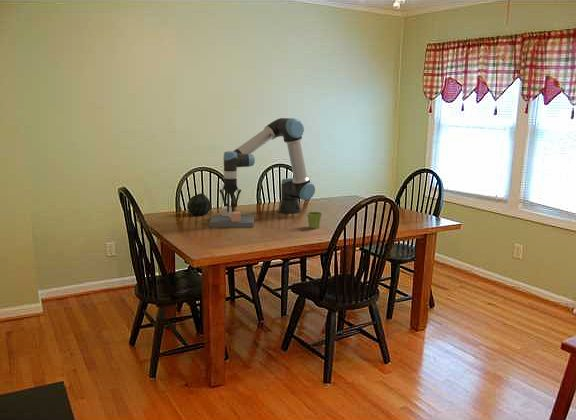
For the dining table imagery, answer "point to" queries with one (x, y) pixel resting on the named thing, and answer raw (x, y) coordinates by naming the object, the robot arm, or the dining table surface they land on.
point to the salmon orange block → (236, 216)
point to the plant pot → (314, 219)
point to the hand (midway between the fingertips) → (230, 217)
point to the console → (225, 221)
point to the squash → (199, 204)
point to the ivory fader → (225, 211)
